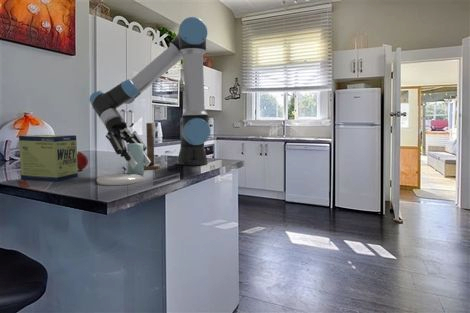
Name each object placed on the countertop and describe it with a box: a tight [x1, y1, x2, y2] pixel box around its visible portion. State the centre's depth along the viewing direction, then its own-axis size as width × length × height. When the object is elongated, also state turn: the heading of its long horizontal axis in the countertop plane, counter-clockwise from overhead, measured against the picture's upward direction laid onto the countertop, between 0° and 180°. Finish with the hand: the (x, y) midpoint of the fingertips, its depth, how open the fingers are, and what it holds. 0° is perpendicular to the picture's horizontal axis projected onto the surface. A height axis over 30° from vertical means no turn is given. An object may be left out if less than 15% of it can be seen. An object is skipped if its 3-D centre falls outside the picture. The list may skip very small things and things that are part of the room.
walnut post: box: [144, 122, 161, 170], centre depth 140 cm, size 8×8×20 cm
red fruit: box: [77, 150, 89, 171], centre depth 133 cm, size 6×6×8 cm
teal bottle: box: [126, 143, 145, 176], centre depth 124 cm, size 6×6×12 cm
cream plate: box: [96, 173, 144, 186], centre depth 110 cm, size 15×15×1 cm
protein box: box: [18, 134, 79, 183], centre depth 114 cm, size 10×16×16 cm
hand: (142, 165), depth 122 cm, fingers closed on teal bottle, 6 cm apart
